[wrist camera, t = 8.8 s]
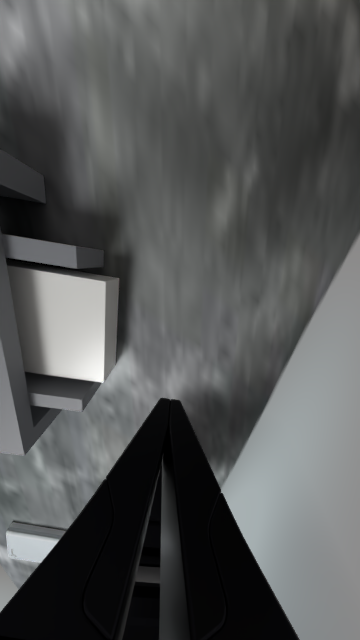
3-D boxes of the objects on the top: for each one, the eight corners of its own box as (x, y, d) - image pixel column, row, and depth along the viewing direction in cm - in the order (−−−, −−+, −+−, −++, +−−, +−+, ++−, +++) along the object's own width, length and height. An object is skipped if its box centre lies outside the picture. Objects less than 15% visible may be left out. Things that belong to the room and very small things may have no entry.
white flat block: (115, 364, 16) (103, 382, 14) (5, 348, 16) (-26, 364, 13) (119, 278, 13) (105, 281, 11) (-13, 256, 13) (-56, 255, 11)
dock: (102, 413, 18) (76, 461, 13) (4, 400, 17) (-56, 446, 13) (104, 186, 11) (56, 140, 7) (-51, 158, 11) (-203, 91, 7)
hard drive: (8, 559, 27) (87, 573, 27) (5, 532, 24) (93, 548, 25) (17, 542, 28) (92, 556, 29) (16, 515, 26) (98, 530, 26)
